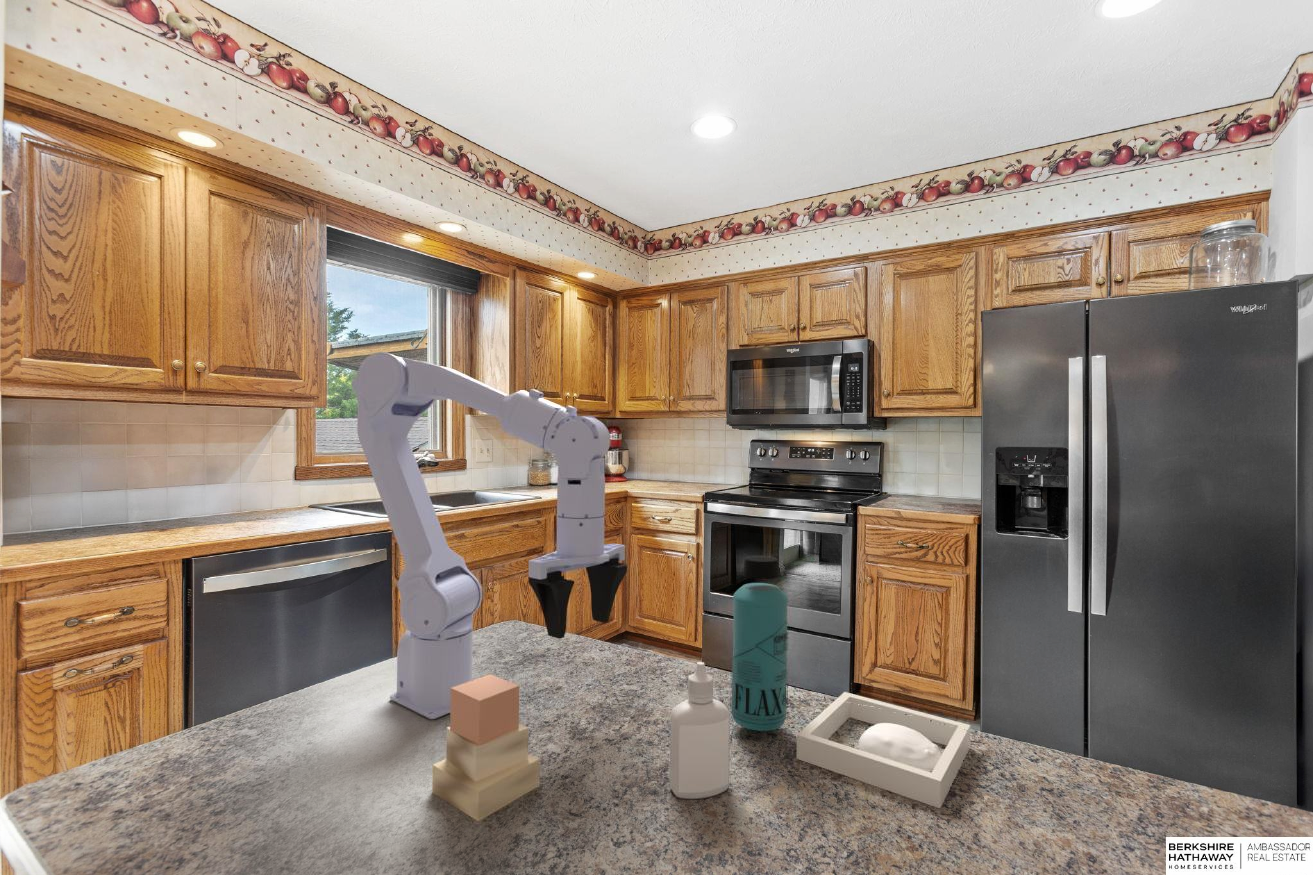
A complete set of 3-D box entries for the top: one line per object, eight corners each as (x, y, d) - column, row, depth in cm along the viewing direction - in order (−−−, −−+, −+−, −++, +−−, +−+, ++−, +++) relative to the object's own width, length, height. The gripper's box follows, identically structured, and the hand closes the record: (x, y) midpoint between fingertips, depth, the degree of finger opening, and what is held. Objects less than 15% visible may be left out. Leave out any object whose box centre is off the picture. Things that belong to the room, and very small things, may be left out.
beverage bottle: (723, 738, 68) (725, 559, 68) (738, 713, 75) (740, 549, 75) (781, 750, 66) (784, 564, 66) (792, 723, 72) (794, 554, 72)
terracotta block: (450, 730, 58) (450, 687, 58) (489, 714, 61) (490, 674, 61) (479, 745, 55) (479, 700, 55) (518, 727, 59) (519, 685, 59)
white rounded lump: (953, 771, 63) (953, 734, 63) (927, 797, 58) (928, 757, 58) (878, 742, 68) (878, 708, 68) (849, 765, 64) (849, 728, 64)
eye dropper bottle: (726, 806, 56) (728, 674, 56) (666, 797, 57) (667, 668, 57) (730, 779, 60) (732, 657, 60) (674, 773, 61) (675, 653, 61)
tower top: (446, 759, 58) (446, 727, 58) (497, 739, 62) (497, 709, 62) (475, 781, 55) (476, 748, 55) (527, 759, 59) (528, 727, 59)
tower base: (432, 796, 57) (432, 764, 57) (493, 765, 63) (493, 736, 63) (478, 826, 53) (478, 791, 53) (539, 789, 59) (539, 758, 59)
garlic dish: (796, 758, 64) (796, 734, 64) (844, 712, 75) (844, 691, 75) (940, 808, 56) (940, 781, 56) (970, 747, 67) (970, 725, 67)
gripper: (560, 525, 66) (558, 651, 66) (644, 513, 77) (642, 620, 77) (516, 519, 70) (515, 638, 70) (602, 508, 81) (601, 610, 81)
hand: (579, 628), depth 74 cm, fingers open, 7 cm apart
